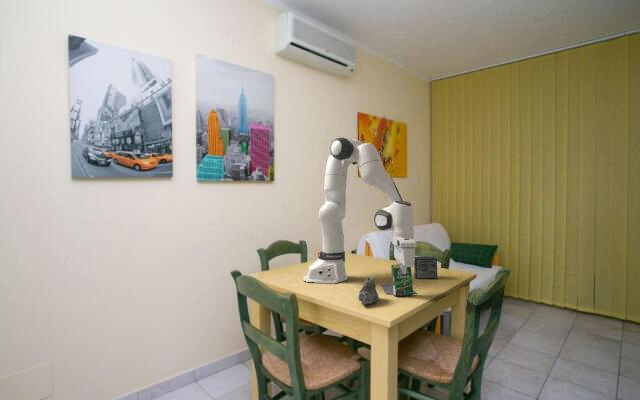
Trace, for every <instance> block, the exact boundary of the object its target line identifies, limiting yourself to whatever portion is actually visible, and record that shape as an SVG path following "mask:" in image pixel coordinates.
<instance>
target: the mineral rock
mask: <svg viewBox="0 0 640 400" xmlns="http://www.w3.org/2000/svg"><path fill="white" fill-rule="evenodd" d="M365 280H366V281H365V282H364V284H363V285H362V287H361V289H359V293H358V296H357V298H358V300H359V302H361V303H362V304H363V305H371V304H373V303H374V302H377V301H378V300H379V297H380V296H379V293H378V291H377V287H376V286H377V284H376V278H375V277H374V276H373V277H372V276H367V278H366V279H365Z"/></svg>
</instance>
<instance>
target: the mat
mask: <svg viewBox="0 0 640 400" xmlns="http://www.w3.org/2000/svg"><path fill="white" fill-rule="evenodd" d="M380 287H381V288H382V290H383V291H384V293H385V294H386V295H394V294H393V284H380ZM417 294H418V293H417V291H415V289H413V295H417Z"/></svg>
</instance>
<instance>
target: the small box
mask: <svg viewBox="0 0 640 400" xmlns="http://www.w3.org/2000/svg"><path fill="white" fill-rule="evenodd" d="M413 268H414V269H413V270H414V271H413V273H414V275H413V276H414V278H415V279H416V280H438V258H437V257H436V256H415V261H414V266H413Z"/></svg>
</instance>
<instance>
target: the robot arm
mask: <svg viewBox="0 0 640 400" xmlns="http://www.w3.org/2000/svg"><path fill="white" fill-rule="evenodd" d="M329 151H330V155H329V156H328V158H327V162H326V166H325V173H324V182H323V183H324V186H323V193H324V204H323V205H322V206H321V207H320V209H318V210H319V211H318V218H319V225H320V232H321V240H322V241H321V245H322V246H321V248H322V249H321V250H318V251H317V255H318V258H317V259H316V260H315V261H314V262H313V263H311V264H310V265H309V267H308V268H307V269H308V270H307V273H306V274H305V275H303V279H302V281H303V280H304V281H306V282H305V283H307V282H314V283H313V284H338V283H341V282H345V281H347V280H348V274H347V272H346V271H347V270H346V264H345V263H346V252H345V236H344V231H343V230H344V229H343V220H344V219H345V216H346V205H347V203H346V202H347V201H346V200H347V199H346V198H347V196H346V195H347V194H346V190H347V179H348V169H349V166H350V165H357V168H358V171H359V175H360V178H361V179H362V180H363V182H364V183H365V184H367V185H369V186H371V187H374V188H376V189H377V190H380V191H381V192H382V193H384V195H385V196H386V199H387V201H388V203H389V205H388V206H387V207H382V208H380V209H377V211H376V212H375V214H374V217H373V221H374V225H375V227H376V228H377V229H378V230H379V231H383V232H384V231H386V232H387V231H392V232H391V236H392V237H391V239H392V241H391V244H392V245H393V246H394V247H393V256H394V258H395V260H396V261H398V264H400V272H401V273H402V274H406V270H407V267H411V268H412V267H413V268H414V261H415V257H416V249H415V248H417V241H416V239H415V231H414V224H415V212H414V207H413V204H412V203H410V202H409V201H407V200H406V201H405V200H403V198H402V196H401V193H400V191H399V189H398V188H397V185H396V182H395V181H394V179H393V178H392V177H391V176H390V175H389V173H388V172H387V170H386V169H385V166H384V164H383V162H382V158H381V155H380V153H379V151H378V149H377V147H376V146H375V145H374V144H373V143H370V142H365V141H362V140H361V141H360V140H358V139H355V138H348V137H337V138H334V139H333V140H332V142H331V144H330V147H329ZM304 281H303V282H304Z"/></svg>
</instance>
